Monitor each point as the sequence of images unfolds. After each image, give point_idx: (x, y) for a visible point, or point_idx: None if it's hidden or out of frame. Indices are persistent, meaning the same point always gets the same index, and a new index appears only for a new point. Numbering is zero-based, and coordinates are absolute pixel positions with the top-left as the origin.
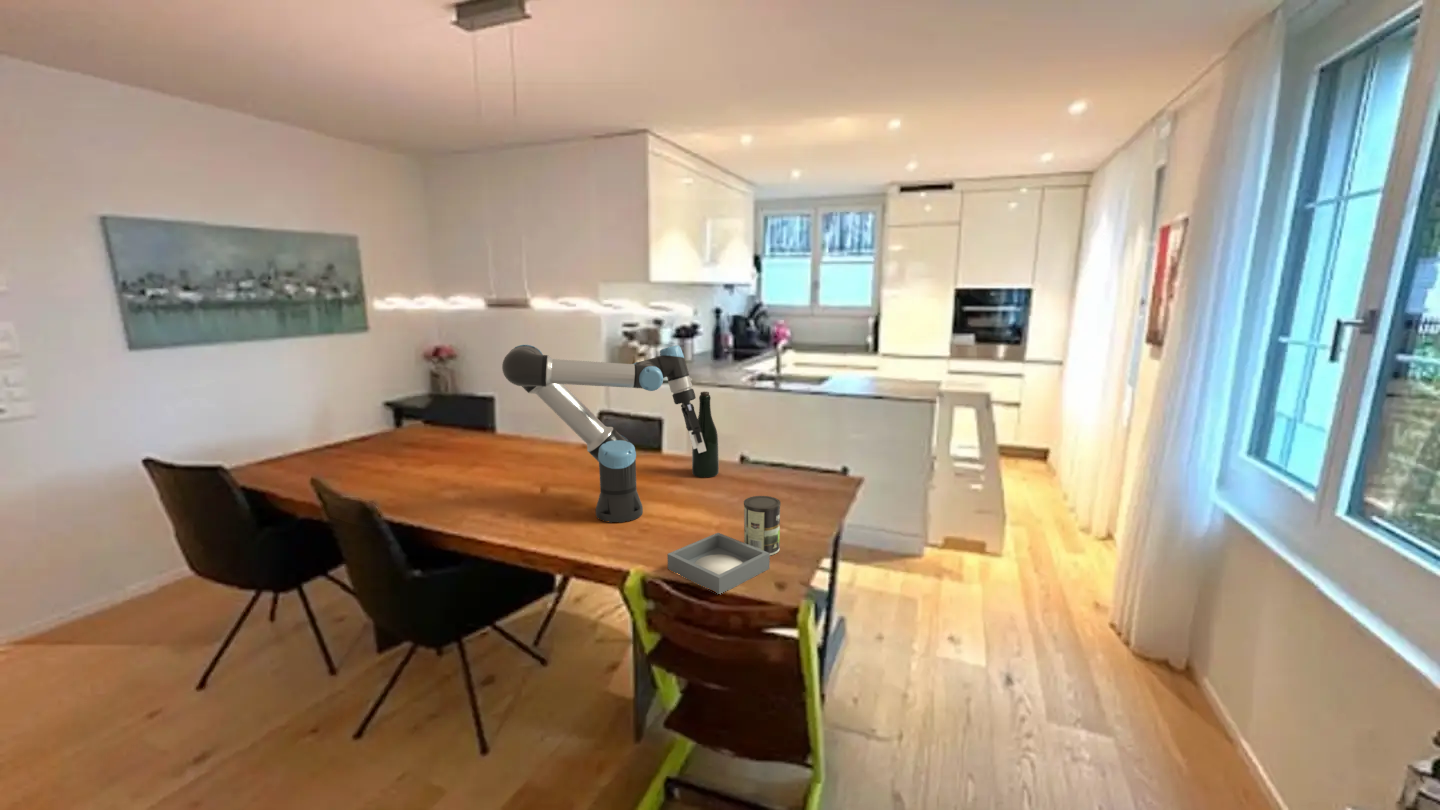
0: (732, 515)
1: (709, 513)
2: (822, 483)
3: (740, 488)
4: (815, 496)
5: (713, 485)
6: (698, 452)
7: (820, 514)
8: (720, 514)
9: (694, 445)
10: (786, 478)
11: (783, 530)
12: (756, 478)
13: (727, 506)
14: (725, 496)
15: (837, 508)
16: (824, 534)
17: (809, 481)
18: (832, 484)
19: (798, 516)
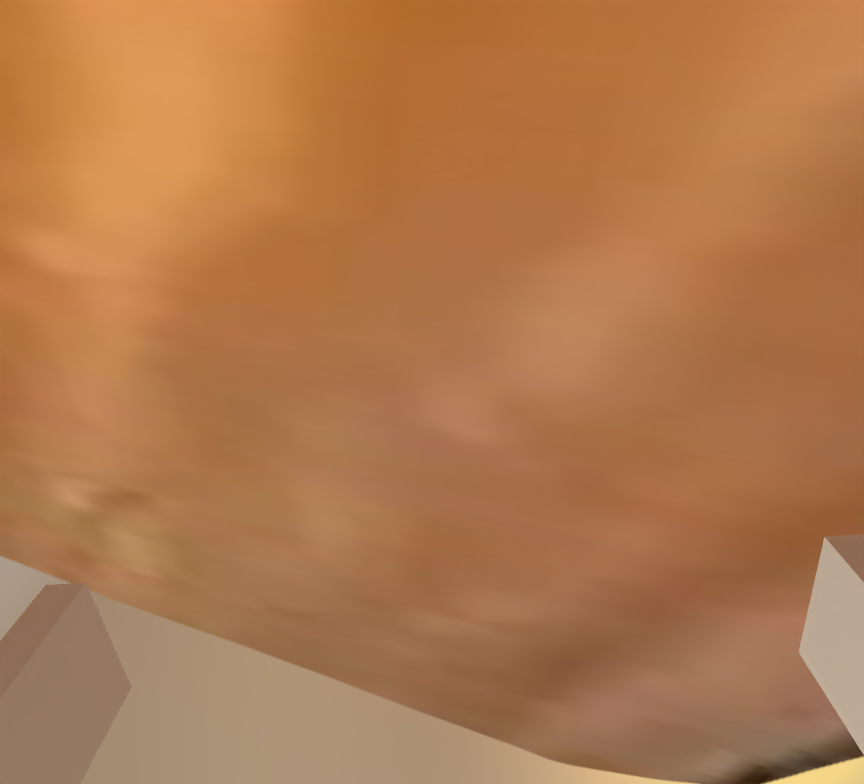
0: (195, 359)
1: (204, 236)
2: (610, 728)
3: (666, 488)
4: (457, 671)
5: (823, 353)
6: (69, 591)
7: (262, 626)
8: (199, 300)
9: (860, 620)
10: (741, 677)
11: (70, 499)
12: None
13: (340, 361)
14: (532, 384)
15: (325, 673)
16: (80, 581)
17: (654, 712)
18: (586, 740)
19: (231, 574)
